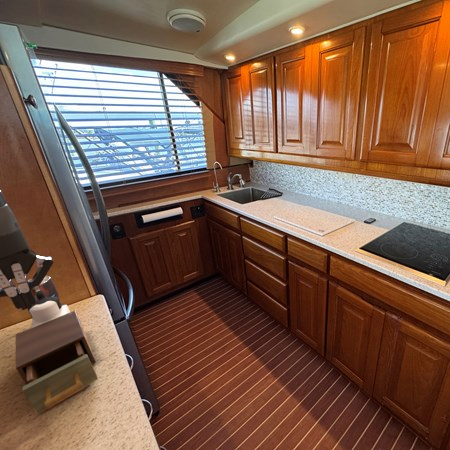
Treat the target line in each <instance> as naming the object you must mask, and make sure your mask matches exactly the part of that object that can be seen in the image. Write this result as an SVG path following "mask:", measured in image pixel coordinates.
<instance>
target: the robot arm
mask: <svg viewBox="0 0 450 450" xmlns="http://www.w3.org/2000/svg"><path fill="white" fill-rule="evenodd" d="M35 263H36V267H37V269H36V271H35V273H34V275H33V276H32V278H30V279H31V280H30V279H28V276H27V275H28V274H29V273H30V271H31V270H32V268H33V266H34V264H35ZM53 265H54V259H53V257H52V256H50V255H49V256H42V255H41V256H40V255H37V253H36V252H35V251H33V250H32V249H30V247H29V244H28V243H27V239H26V237H25V235H24V233H23V231H22V229H21V226H20V223H19V222H18V220H17V218H16V216H15V214H14V212H13V211H12V209H11V208H10V207H9V205H8V203H7V201H6V198H5V196H4V194H3V192H2V190H1V189H0V298H5V297H7V298H10V300H11V302H12V304H13V305H14V307H15V309H17V310H20V309H21V310H22V311H25V310H28V308H31V307H33V304H35V302H36V299H35V296H34V294H33V292H32V290H31V289H32V288H34V287H35V286H39V285H40V284H41V282H42V281H43V279H44V277H45V276H47V274H48V272H49V271H50V269H51V268H52V266H53ZM14 279H15V281H16V283H17V285H18V286H19V288H20V290H19V288H18V286H17V285H16V284H15V283H14V282H15V281H13V280H14ZM28 280H30V281H28Z"/></svg>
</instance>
